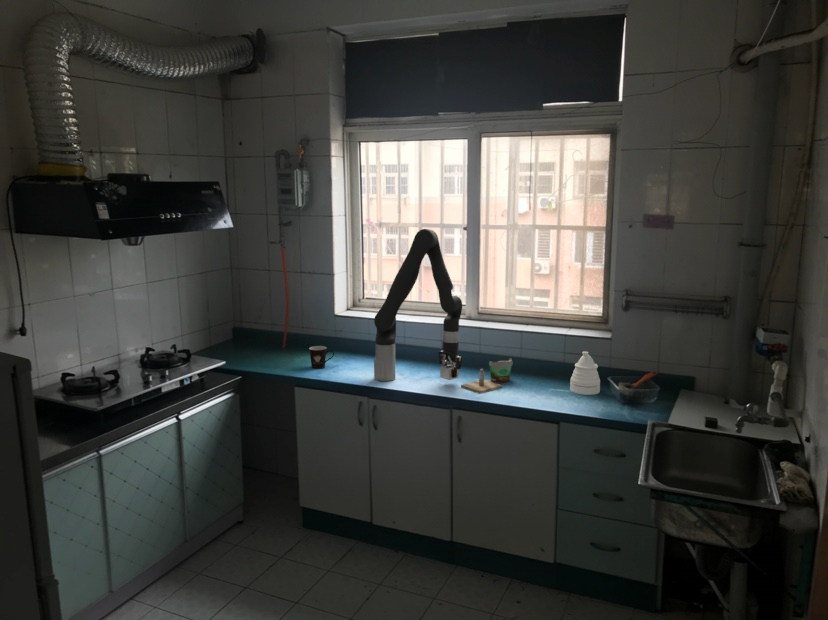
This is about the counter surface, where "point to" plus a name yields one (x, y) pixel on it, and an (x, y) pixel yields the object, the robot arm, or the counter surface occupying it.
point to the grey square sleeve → (447, 372)
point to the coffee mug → (318, 356)
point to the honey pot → (585, 376)
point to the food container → (500, 371)
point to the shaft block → (481, 384)
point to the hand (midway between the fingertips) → (449, 375)
